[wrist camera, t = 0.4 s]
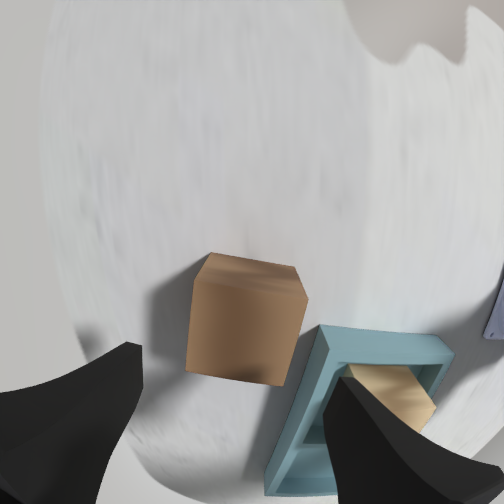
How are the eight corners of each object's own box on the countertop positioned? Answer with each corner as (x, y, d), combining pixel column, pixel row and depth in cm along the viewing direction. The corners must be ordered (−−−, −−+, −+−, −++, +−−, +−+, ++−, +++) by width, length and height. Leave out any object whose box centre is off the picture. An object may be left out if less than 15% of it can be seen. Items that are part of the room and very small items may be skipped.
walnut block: (294, 266, 17) (308, 299, 12) (277, 338, 18) (282, 386, 14) (211, 251, 17) (194, 279, 12) (201, 325, 18) (185, 370, 13)
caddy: (436, 335, 18) (455, 354, 15) (354, 471, 23) (360, 492, 20) (319, 324, 18) (329, 349, 15) (264, 472, 22) (264, 496, 19)
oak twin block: (406, 365, 18) (436, 407, 13) (381, 413, 19) (401, 456, 14) (348, 363, 18) (370, 412, 13) (325, 414, 19) (338, 463, 14)
